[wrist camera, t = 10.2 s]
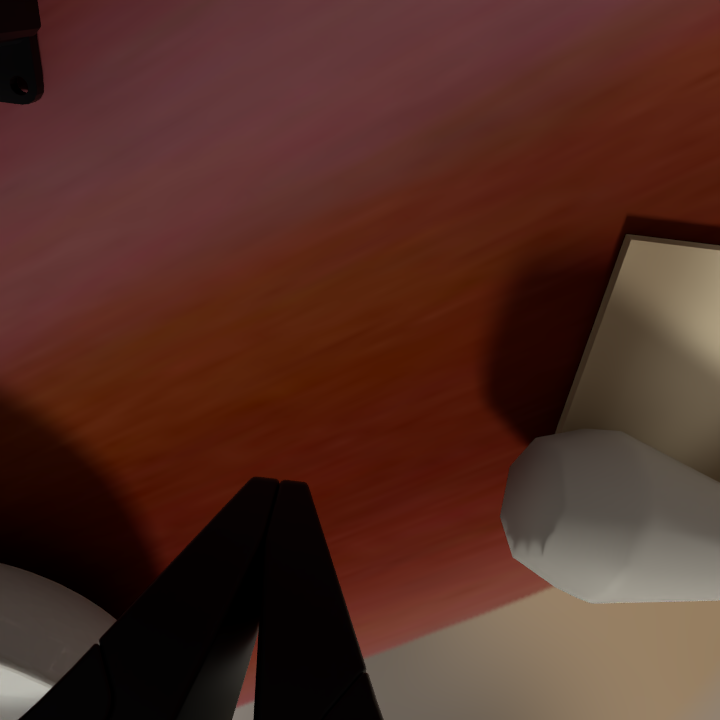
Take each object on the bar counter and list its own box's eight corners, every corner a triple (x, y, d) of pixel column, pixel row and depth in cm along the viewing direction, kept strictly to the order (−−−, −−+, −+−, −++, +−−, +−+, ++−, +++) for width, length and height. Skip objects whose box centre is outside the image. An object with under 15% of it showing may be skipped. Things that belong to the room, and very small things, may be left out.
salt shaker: (560, 378, 21) (860, 463, 23) (481, 472, 24) (746, 536, 27) (604, 535, 16) (964, 617, 19) (501, 618, 20) (813, 677, 23)
